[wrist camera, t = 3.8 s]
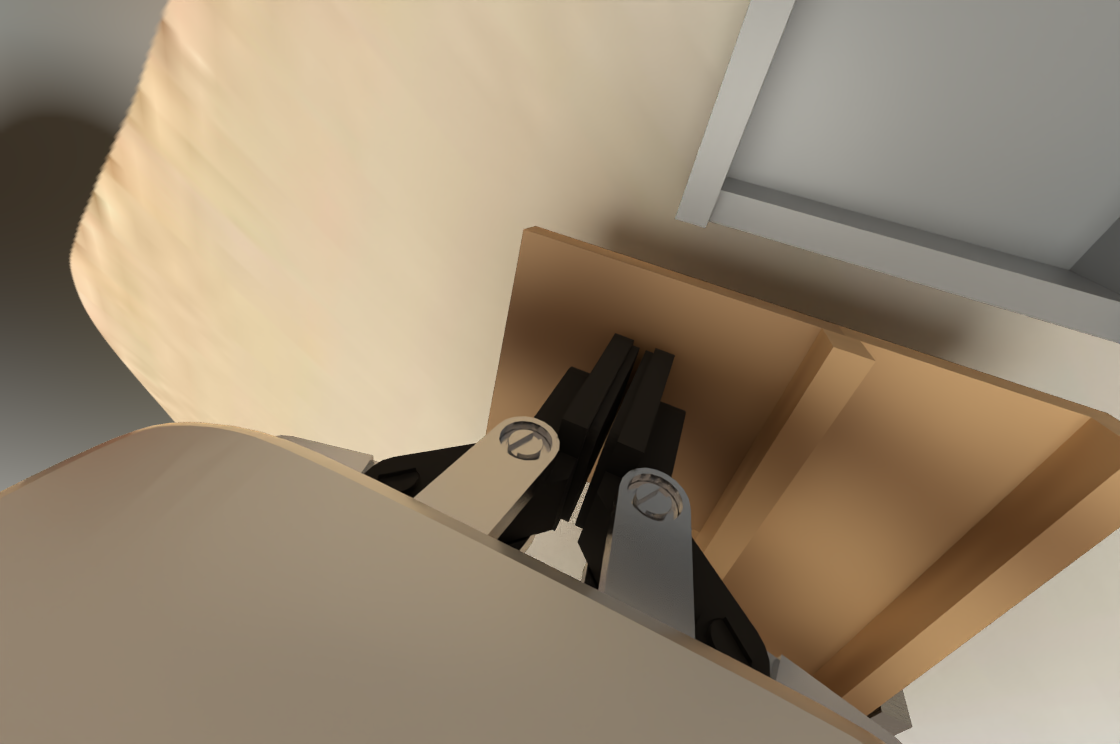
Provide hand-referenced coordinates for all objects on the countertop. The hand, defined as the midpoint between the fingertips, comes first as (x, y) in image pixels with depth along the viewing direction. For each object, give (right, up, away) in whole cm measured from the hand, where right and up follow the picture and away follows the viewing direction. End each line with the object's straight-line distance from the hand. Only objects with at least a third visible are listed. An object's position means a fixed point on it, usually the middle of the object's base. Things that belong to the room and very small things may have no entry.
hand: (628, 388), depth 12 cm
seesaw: (+2, -6, +6) cm, 9 cm away
